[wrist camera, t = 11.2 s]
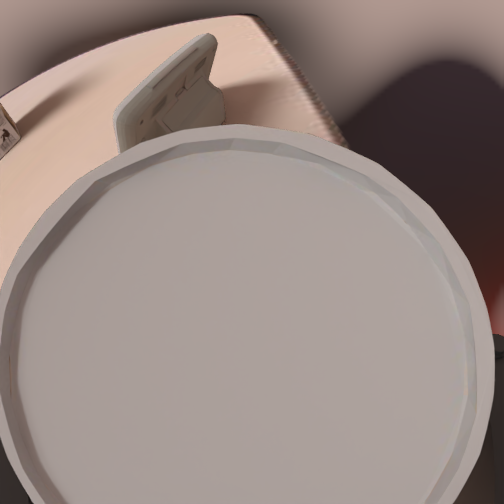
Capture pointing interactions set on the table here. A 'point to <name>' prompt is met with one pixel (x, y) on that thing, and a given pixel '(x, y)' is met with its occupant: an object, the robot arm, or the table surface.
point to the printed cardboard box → (7, 132)
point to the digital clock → (172, 97)
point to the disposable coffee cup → (242, 332)
